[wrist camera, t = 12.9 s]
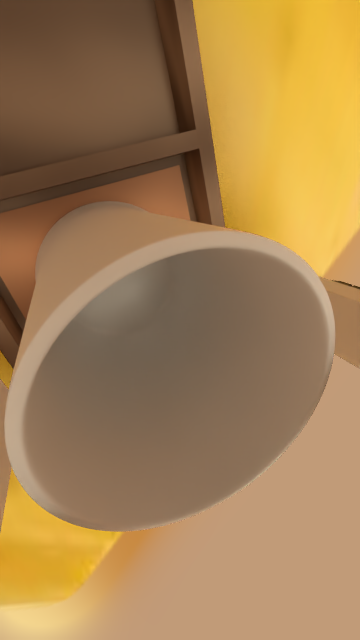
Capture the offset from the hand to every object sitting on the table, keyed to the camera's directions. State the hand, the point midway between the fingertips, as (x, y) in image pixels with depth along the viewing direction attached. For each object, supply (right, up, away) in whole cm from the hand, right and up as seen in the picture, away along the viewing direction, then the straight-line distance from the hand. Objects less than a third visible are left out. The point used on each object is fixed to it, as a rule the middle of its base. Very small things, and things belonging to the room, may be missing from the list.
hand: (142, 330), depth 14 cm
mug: (-2, +2, +4) cm, 5 cm away
